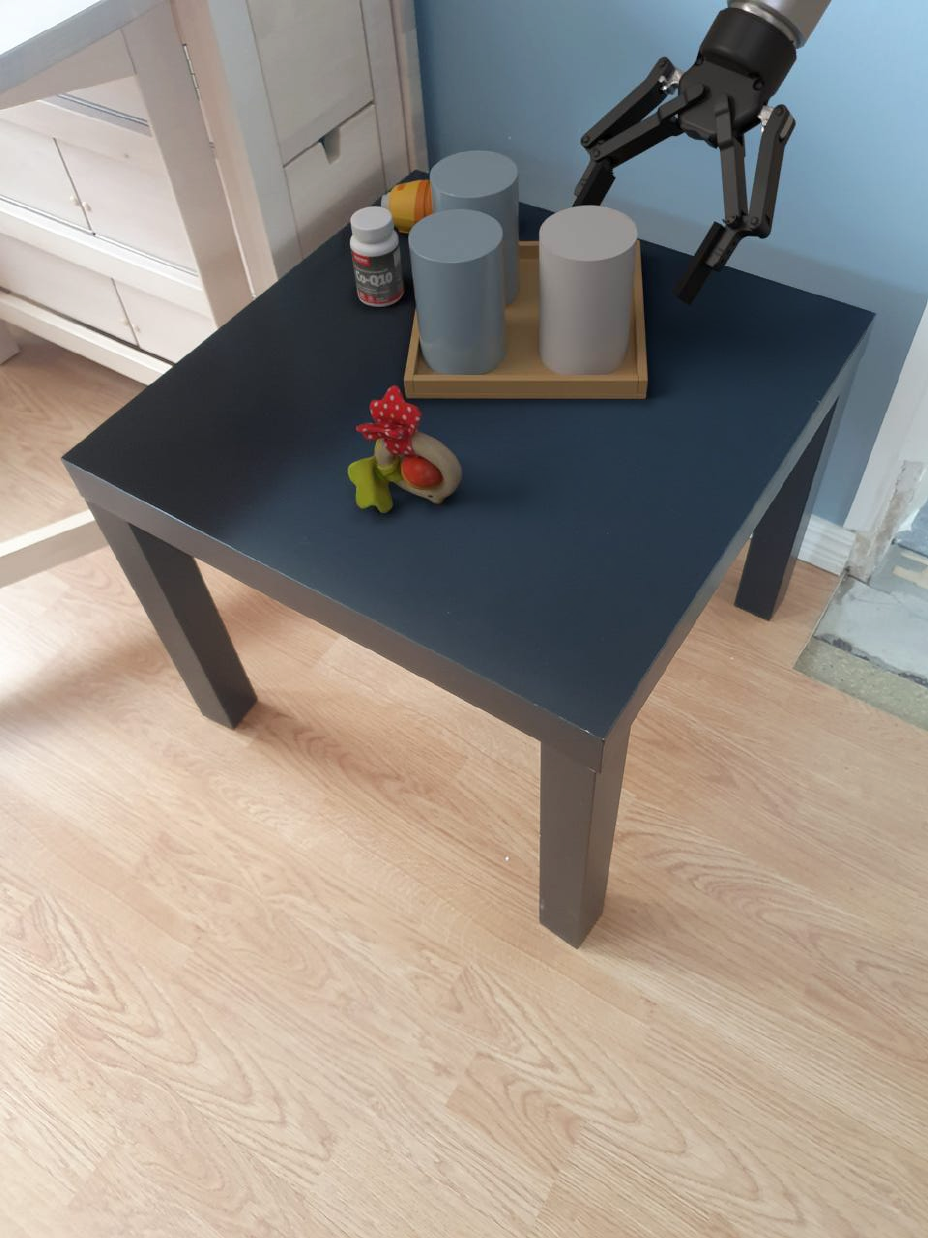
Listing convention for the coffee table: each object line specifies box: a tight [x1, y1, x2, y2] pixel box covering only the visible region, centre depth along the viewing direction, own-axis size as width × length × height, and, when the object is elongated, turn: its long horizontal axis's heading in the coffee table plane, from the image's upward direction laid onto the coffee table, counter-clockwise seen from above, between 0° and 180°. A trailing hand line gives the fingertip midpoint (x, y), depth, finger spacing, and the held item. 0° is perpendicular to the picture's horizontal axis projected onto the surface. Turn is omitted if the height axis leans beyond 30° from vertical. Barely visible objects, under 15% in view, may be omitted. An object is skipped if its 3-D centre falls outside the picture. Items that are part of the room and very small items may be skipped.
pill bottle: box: [349, 205, 405, 308], centre depth 97 cm, size 5×5×8 cm
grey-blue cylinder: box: [429, 149, 520, 306], centre depth 94 cm, size 8×8×12 cm
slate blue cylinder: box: [407, 209, 506, 375], centre depth 89 cm, size 8×8×12 cm
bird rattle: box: [347, 384, 463, 514], centre depth 79 cm, size 6×11×9 cm
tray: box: [403, 239, 649, 400], centre depth 95 cm, size 22×22×2 cm
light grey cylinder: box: [538, 205, 639, 375], centre depth 88 cm, size 8×8×12 cm
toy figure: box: [380, 179, 433, 235], centre depth 104 cm, size 5×6×12 cm
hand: (622, 267), depth 89 cm, fingers open, 13 cm apart
